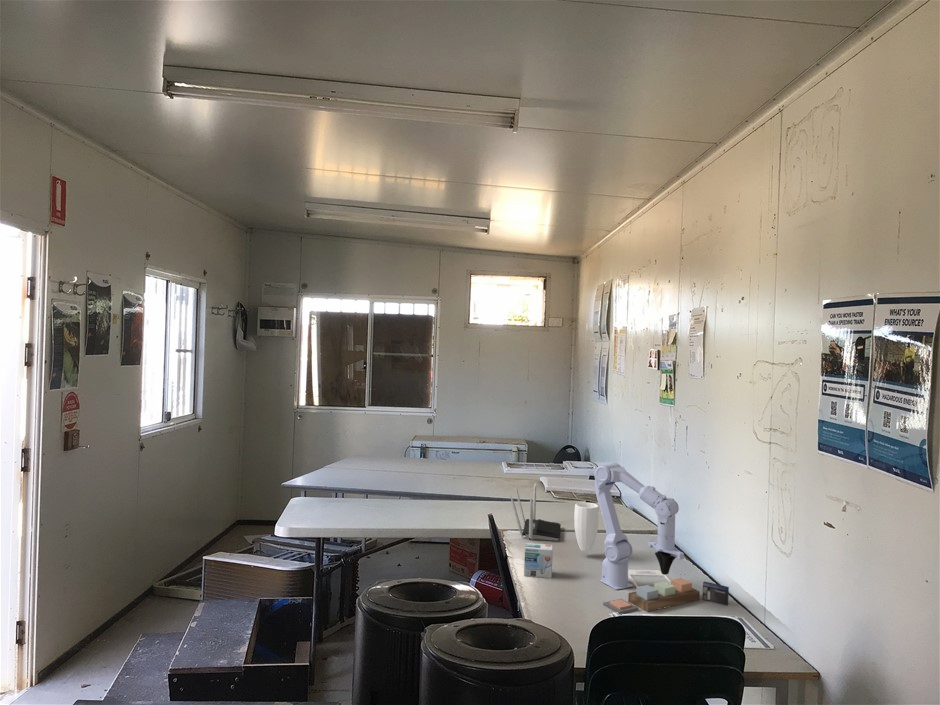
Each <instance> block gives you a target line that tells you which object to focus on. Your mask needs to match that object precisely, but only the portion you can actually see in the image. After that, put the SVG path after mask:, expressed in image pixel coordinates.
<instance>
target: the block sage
mask: <svg viewBox="0 0 940 705" xmlns="http://www.w3.org/2000/svg"><path fill="white" fill-rule="evenodd" d="M653 587H654V588H655V589H657V590H658V593H659V594H661V595H663V596H669V595H673V594H675V586H673V585H671V584H670V583H669V582H667V581H666V580H665V581H660V582H655V583H653Z"/></svg>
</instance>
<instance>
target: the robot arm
mask: <svg viewBox="0 0 940 705" xmlns="http://www.w3.org/2000/svg"><path fill="white" fill-rule="evenodd" d="M593 476H594V486H593V487H594V488H593V489H594V492H595V496H596V499H597V505H598V506H599V512H600V513H601V518H602V521H603V522H602V523H603V525H604V529H605V532H606V537H605V539H604V541H603V543H604V555H605V558H604V559H603V561H602V563H601V564H602V565H601V579H600V580H599V581H600V582H601V583H603V584H604V585H607V586H609V587H610V588H612V589H615V590H622V589H627V588H631V587H634V584H632V583H630V582H629V576H628V570H629V560H630V557H631V556H632V555H633V552H634V551H633V546H632V544H631V543H630V541H629V539H628V537H627V535H626V534H625V533H623V532H622V529H621V525H620V521H619V517H618V513H617V510H616V506H615V503H614V500H613V495H612V493H611V490H612V488H613V486H614V485H615V483H622V484H623V485H625V486H627V487H628V488H630V489H631V490H633V491H634V492H636V493H637V494H639V498H640V500H642V501H643V502H644V503H645V504H647V505H648V506H650V507H651V508H652V509H654V511H655V514H656V516H657V540H656V541H654V540H651V541H648V543H647V544H648V545H647V546H648V548H652V549H655V552H654V555H655V557H656V559H657V562H658V564H659V567H660V570H661V573H662V574H664V575H666V576H667V575H668V574H669V573H670V570H671V566H672V564H673V563H674V561H675V559H676V558H677V559H678V560H684V558H685V552H682V551H681V550H679V549H678V548H676V547H675V542H676V540H675V539H676V515H677V514H678V512H679V509H680V508H679V504H678V502H677V501H676V500H675V499H674V498H671V497H667V495H665V494H662V493H661V492H659V491H658V490H657V489H656V487H655V486H651V485H644V484H642V483H641V482H640V480H638V479H637V478H636V477H634V475H632V474H631V473H629V471H627V469H626V468H625V467H624V466H622V465H620V464H619V463H618V462H612V463H609V464H604V465H598V466H597V467H596V469H595V470H594V472H593Z"/></svg>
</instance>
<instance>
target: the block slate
mask: <svg viewBox="0 0 940 705" xmlns="http://www.w3.org/2000/svg"><path fill="white" fill-rule="evenodd" d="M653 587H654V586H651V585H650V584H646V585H640V587H637V588H636V591H637V593H636V595H638V596H640V597H642V598H643V599H645V600H651V599H655V598H658V590H657V589H655V588H653Z"/></svg>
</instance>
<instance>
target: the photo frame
mask: <svg viewBox="0 0 940 705" xmlns="http://www.w3.org/2000/svg"><path fill="white" fill-rule="evenodd" d="M633 576H634V577H657V576H664V578H665V579H666V580H667V581H668V583H669V582H670V583H671V580H672V579H670V578H669V577H668V576H667V574H666V575H664V574H662V573H661V569H660V570H657V569H656V570H655V569H654V570H653V569H628V579H630V581H631V582H632V583H633V586H635V587H636V589H637V587H640V586H641V585H640V586H638V584H637V582H636V581H635V579H634V578H633ZM670 583H669V584H670ZM652 587H653V588H654V586H652Z"/></svg>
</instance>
